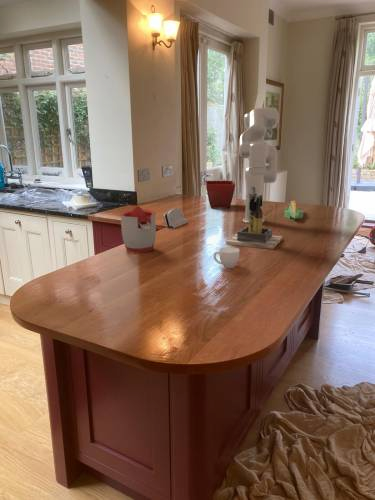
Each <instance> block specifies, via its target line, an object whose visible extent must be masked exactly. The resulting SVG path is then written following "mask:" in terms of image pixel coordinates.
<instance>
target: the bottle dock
mask: <svg viewBox="0 0 375 500" xmlns="http://www.w3.org/2000/svg"><path fill="white" fill-rule="evenodd" d="M248 231H249V226H246V225H245V226H243V228H241V229H240V230H237V233H235V234H234V235H233V236H231V237H230V238H228V239H227V240H226V241H225V243H226V245H230V246H231V245H232V246H242V247H250V248H260V249H266V250H267V249H268V250H274V249H275V248H276V246H277V245H278V244H280V242H281V241H282V240H283V236H282V235H273V228H269V227H267V228H266V227H262V234H259V233H248Z"/></svg>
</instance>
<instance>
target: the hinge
mask: <svg viewBox="0 0 375 500" xmlns="http://www.w3.org/2000/svg"><path fill="white" fill-rule="evenodd" d="M162 217H163V220H164V221H163V222H164V224H165V228H170V227H172V228H173V229H175V228H177V227H180V226H182V225H184V224H187V223H188V219H187V218H186V217H185V215H184V213H183V210H182V209H181V208H172V209H169V210H167V211H166V212H165V213H164V214H163V216H162Z"/></svg>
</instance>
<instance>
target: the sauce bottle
mask: <svg viewBox="0 0 375 500" xmlns="http://www.w3.org/2000/svg"><path fill="white" fill-rule="evenodd" d="M254 199H255V197H254ZM256 202H257V207H256V211H252V210H250V213H249V223H248V227H249V231H248V233H259V234H262V228H263V223H262V218H263V213H264V212H263V208H262V209H261V207H260V206H261V205H260V204H261V197H257V199H256ZM263 219H264V218H263Z"/></svg>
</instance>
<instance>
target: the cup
mask: <svg viewBox="0 0 375 500" xmlns="http://www.w3.org/2000/svg"><path fill="white" fill-rule="evenodd" d="M240 250H241V249H240V248H238V247H233V246H231V247H230V246H225V247H224V246H223V247H221V248H219V251H215V252H214V253H213V259H214V261H215V262H216V263H217V264H220V265H223V267H224V268H226V269H232V268H235V267H236V265H238V262H239V260H240V252H241V251H240ZM217 255H219V259H220V261H219V259H217V257H216V256H217Z"/></svg>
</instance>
